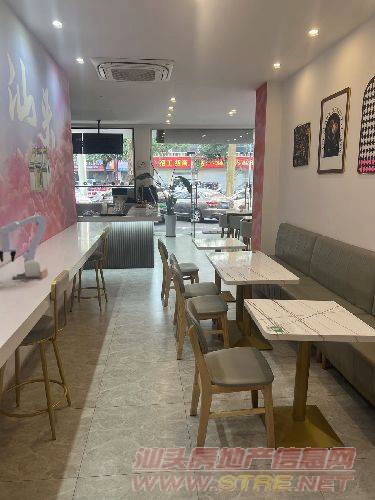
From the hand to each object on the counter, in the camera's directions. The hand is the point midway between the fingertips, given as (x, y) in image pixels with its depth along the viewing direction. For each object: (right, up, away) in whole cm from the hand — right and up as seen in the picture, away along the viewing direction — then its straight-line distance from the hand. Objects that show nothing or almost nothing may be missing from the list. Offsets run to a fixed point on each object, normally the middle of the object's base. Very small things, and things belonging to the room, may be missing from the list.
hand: (7, 261), depth 284 cm
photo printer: (+20, -11, -4) cm, 24 cm away
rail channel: (+18, -11, -5) cm, 21 cm away
